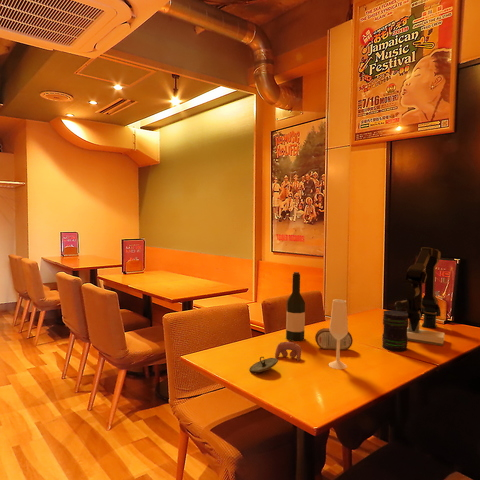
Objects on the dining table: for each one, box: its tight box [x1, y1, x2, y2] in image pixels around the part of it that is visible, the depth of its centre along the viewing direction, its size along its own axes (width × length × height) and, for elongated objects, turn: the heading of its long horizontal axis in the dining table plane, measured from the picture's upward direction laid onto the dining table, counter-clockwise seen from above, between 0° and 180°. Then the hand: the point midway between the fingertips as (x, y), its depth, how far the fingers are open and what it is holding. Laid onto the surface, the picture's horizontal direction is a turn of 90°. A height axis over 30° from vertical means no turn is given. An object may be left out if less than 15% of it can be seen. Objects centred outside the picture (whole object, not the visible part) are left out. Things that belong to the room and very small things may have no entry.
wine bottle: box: [285, 271, 306, 342], centre depth 170 cm, size 8×8×30 cm
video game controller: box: [274, 341, 302, 362], centre depth 147 cm, size 10×5×7 cm, turn 72°
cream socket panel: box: [407, 327, 445, 347], centre depth 174 cm, size 9×24×4 cm, turn 58°
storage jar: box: [381, 309, 409, 353], centre depth 160 cm, size 10×10×15 cm
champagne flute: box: [328, 298, 349, 370], centre depth 139 cm, size 7×7×24 cm
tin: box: [314, 327, 354, 351], centre depth 157 cm, size 15×3×8 cm, turn 84°
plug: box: [408, 319, 421, 333], centre depth 173 cm, size 4×4×7 cm
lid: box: [249, 356, 279, 373], centre depth 134 cm, size 11×10×5 cm
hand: (414, 329), depth 174 cm, fingers closed on plug, 4 cm apart
